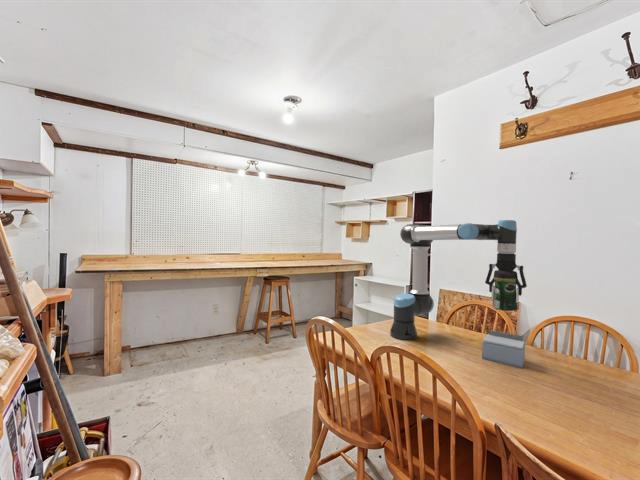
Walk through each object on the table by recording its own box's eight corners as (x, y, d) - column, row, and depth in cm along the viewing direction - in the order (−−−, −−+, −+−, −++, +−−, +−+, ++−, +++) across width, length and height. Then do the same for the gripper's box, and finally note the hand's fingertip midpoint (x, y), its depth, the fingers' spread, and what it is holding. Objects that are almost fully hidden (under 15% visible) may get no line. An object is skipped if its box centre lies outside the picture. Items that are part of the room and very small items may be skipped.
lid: (483, 341, 146) (483, 335, 146) (487, 335, 155) (487, 329, 155) (522, 349, 136) (522, 342, 136) (524, 342, 145) (524, 336, 145)
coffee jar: (509, 307, 148) (510, 269, 148) (520, 311, 140) (521, 271, 140) (489, 307, 148) (490, 268, 148) (499, 311, 140) (500, 270, 140)
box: (481, 358, 146) (482, 342, 145) (486, 351, 155) (487, 335, 155) (522, 368, 136) (522, 350, 136) (524, 360, 145) (525, 343, 145)
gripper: (478, 252, 148) (477, 298, 148) (534, 254, 134) (532, 305, 134) (482, 251, 154) (480, 296, 154) (535, 254, 140) (533, 303, 140)
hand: (504, 300), depth 144 cm, fingers closed on coffee jar, 9 cm apart
